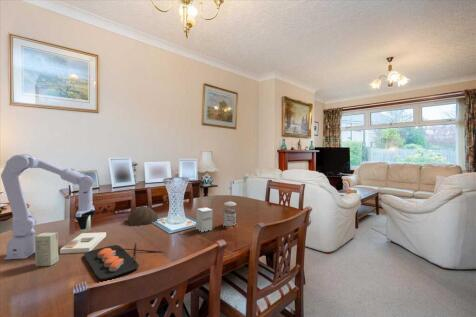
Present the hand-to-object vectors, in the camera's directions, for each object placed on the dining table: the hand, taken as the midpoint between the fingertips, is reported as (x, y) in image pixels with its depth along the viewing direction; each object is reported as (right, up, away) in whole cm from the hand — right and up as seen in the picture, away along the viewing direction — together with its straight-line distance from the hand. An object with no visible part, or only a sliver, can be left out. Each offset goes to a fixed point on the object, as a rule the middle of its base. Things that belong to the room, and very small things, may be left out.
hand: (85, 227), depth 112 cm
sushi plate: (+28, -10, -12) cm, 32 cm away
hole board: (0, -8, 0) cm, 8 cm away
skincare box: (-3, -9, -20) cm, 22 cm away
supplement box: (+55, -9, +25) cm, 61 cm away
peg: (0, -1, 0) cm, 1 cm away
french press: (+70, -9, +35) cm, 78 cm away
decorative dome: (+12, -8, +38) cm, 41 cm away
